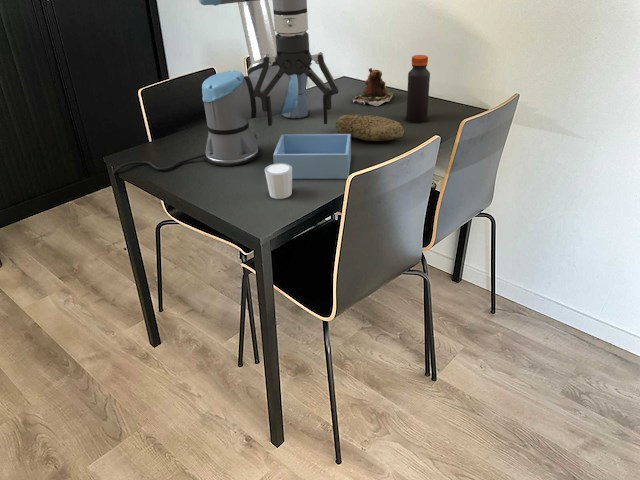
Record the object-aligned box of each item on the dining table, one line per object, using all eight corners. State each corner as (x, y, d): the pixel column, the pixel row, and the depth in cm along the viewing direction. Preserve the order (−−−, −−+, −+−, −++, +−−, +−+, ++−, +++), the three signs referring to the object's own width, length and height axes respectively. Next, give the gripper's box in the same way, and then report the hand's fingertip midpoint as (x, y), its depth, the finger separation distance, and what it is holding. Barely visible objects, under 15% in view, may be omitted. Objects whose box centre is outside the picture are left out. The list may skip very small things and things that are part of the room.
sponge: (332, 141, 172) (380, 144, 157) (331, 115, 169) (379, 116, 155) (362, 136, 180) (409, 139, 165) (361, 112, 178) (409, 112, 163)
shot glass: (262, 198, 139) (259, 172, 135) (274, 186, 144) (271, 161, 140) (287, 201, 136) (285, 175, 133) (298, 189, 142) (296, 164, 138)
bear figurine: (401, 96, 201) (402, 62, 195) (378, 108, 192) (379, 73, 185) (370, 91, 209) (370, 58, 202) (346, 102, 199) (346, 67, 192)
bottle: (421, 114, 185) (424, 53, 174) (431, 120, 179) (435, 57, 169) (402, 117, 183) (405, 55, 172) (412, 124, 178) (415, 60, 167)
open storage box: (275, 178, 148) (273, 155, 144) (283, 156, 160) (281, 134, 157) (348, 178, 146) (348, 154, 142) (351, 156, 158) (350, 133, 155)
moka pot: (321, 113, 190) (318, 54, 179) (282, 124, 183) (277, 62, 172) (306, 106, 196) (302, 49, 186) (268, 116, 189) (262, 57, 179)
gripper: (234, 38, 122) (245, 130, 133) (347, 34, 121) (349, 127, 132) (239, 31, 128) (249, 119, 140) (347, 27, 127) (348, 116, 138)
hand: (298, 123), depth 136 cm, fingers open, 13 cm apart
